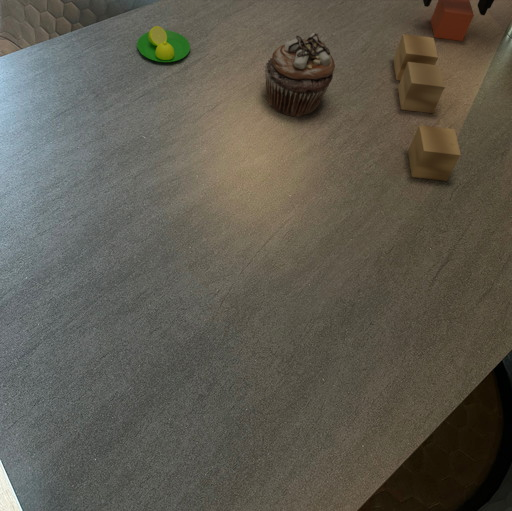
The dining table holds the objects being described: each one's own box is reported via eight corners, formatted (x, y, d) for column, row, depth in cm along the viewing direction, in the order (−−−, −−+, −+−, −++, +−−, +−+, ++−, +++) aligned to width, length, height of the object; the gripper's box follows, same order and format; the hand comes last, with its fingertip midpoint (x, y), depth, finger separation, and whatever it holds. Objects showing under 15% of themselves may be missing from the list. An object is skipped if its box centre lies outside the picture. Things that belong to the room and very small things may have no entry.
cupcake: (301, 71, 97) (313, 13, 89) (337, 110, 92) (354, 52, 84) (248, 87, 93) (256, 27, 85) (283, 128, 89) (295, 69, 81)
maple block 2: (428, 92, 98) (440, 65, 94) (433, 113, 95) (445, 86, 91) (397, 88, 97) (407, 61, 93) (400, 109, 94) (411, 82, 90)
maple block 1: (423, 64, 102) (433, 37, 98) (427, 84, 99) (438, 57, 95) (393, 60, 102) (402, 33, 98) (396, 80, 99) (406, 53, 95)
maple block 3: (441, 155, 89) (454, 129, 85) (446, 181, 86) (460, 155, 82) (407, 151, 89) (419, 124, 85) (411, 177, 86) (423, 150, 82)
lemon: (125, 47, 95) (125, 30, 93) (163, 27, 99) (163, 11, 97) (163, 72, 93) (163, 56, 90) (200, 50, 97) (201, 34, 95)
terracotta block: (457, 24, 110) (469, -2, 106) (462, 41, 107) (474, 15, 103) (430, 20, 110) (440, -6, 106) (434, 37, 107) (444, 11, 103)
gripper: (445, -97, 88) (405, 11, 102) (561, -77, 90) (506, 27, 104) (438, -121, 93) (400, -14, 107) (549, -102, 94) (497, 1, 108)
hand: (453, 6), depth 105 cm, fingers open, 9 cm apart
